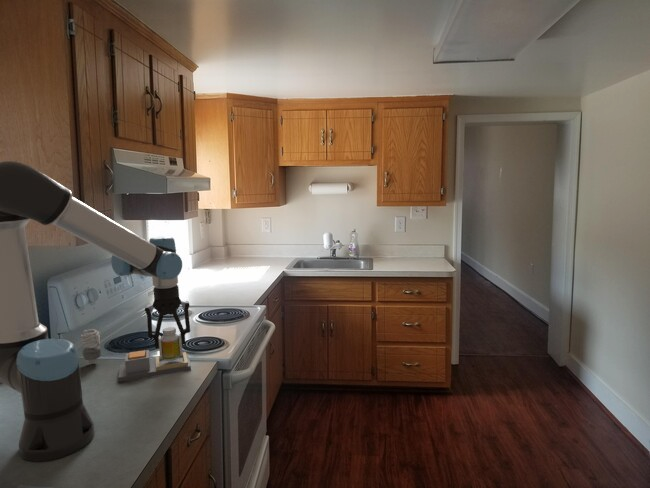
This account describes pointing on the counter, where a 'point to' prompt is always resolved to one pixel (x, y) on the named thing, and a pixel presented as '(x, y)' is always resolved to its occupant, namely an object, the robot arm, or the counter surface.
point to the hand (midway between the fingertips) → (171, 355)
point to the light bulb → (93, 351)
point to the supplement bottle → (170, 344)
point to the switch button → (137, 354)
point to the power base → (151, 367)
